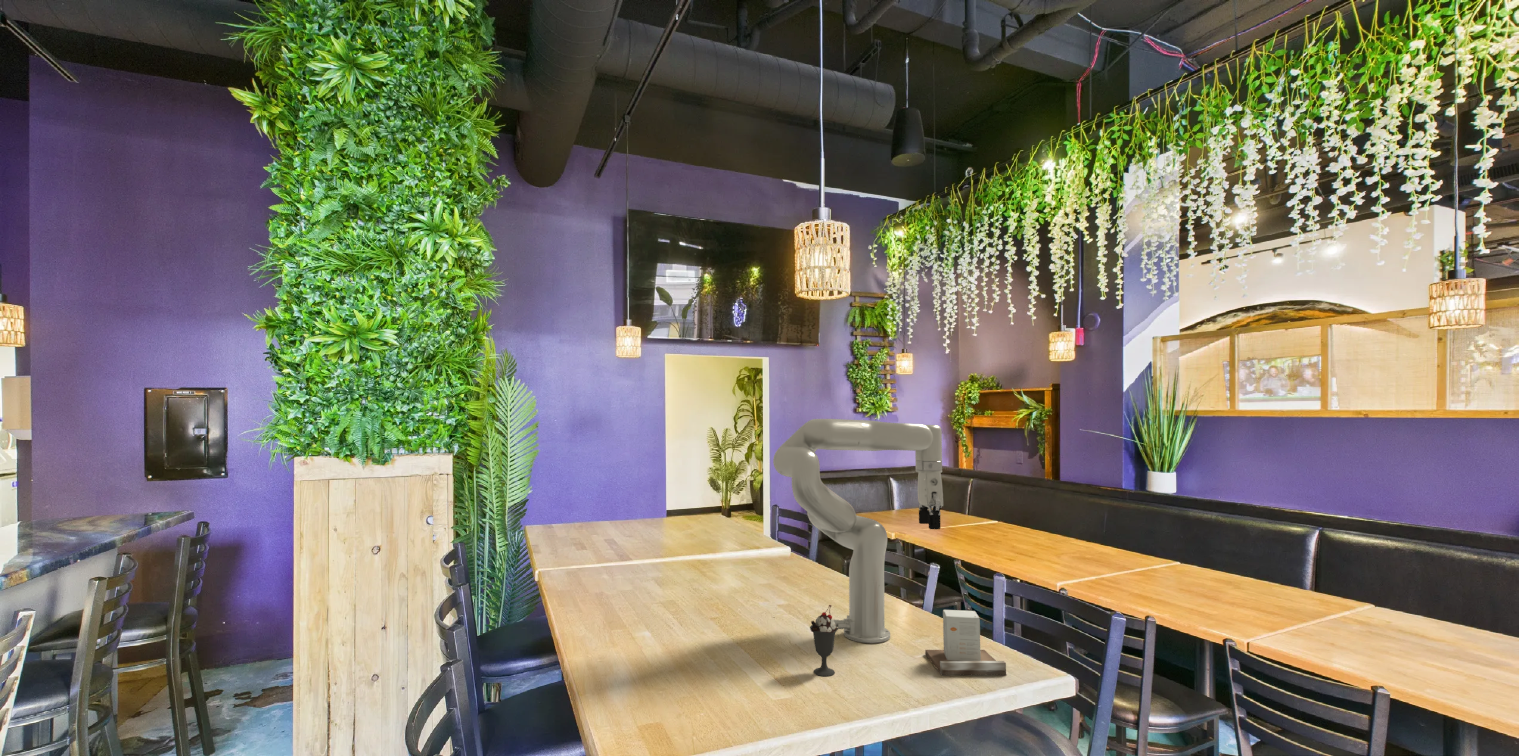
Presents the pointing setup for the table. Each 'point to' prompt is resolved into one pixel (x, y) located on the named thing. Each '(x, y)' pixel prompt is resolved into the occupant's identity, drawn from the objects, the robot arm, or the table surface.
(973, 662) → the shelf board
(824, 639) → the sundae
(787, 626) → the table surface
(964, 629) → the small box
